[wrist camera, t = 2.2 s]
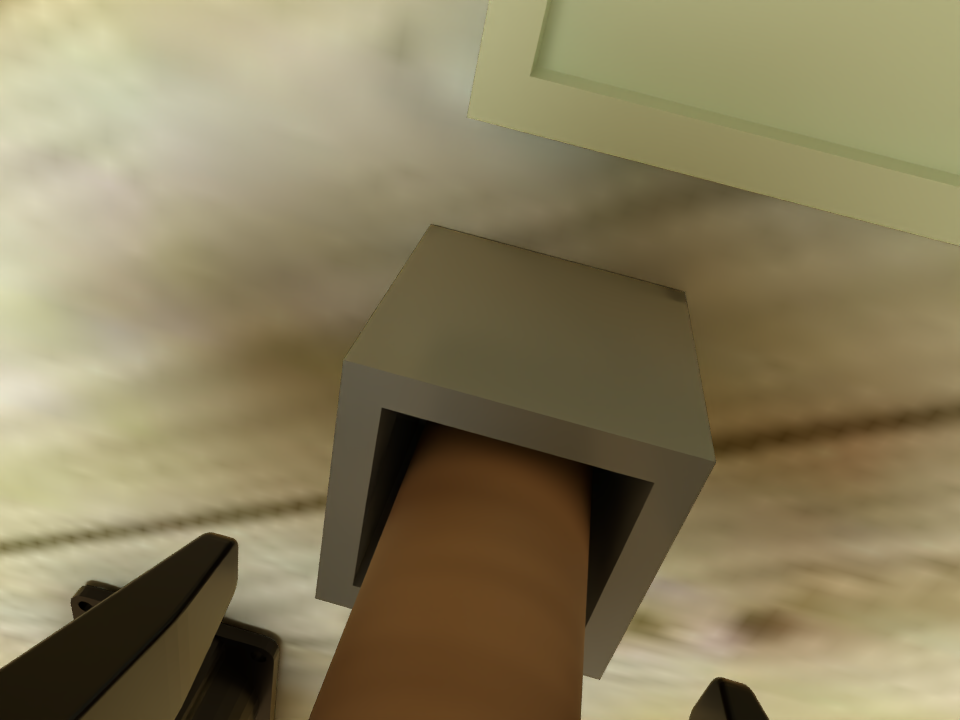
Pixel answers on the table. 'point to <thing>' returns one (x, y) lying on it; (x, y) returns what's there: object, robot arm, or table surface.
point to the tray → (746, 95)
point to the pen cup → (525, 406)
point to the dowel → (471, 590)
